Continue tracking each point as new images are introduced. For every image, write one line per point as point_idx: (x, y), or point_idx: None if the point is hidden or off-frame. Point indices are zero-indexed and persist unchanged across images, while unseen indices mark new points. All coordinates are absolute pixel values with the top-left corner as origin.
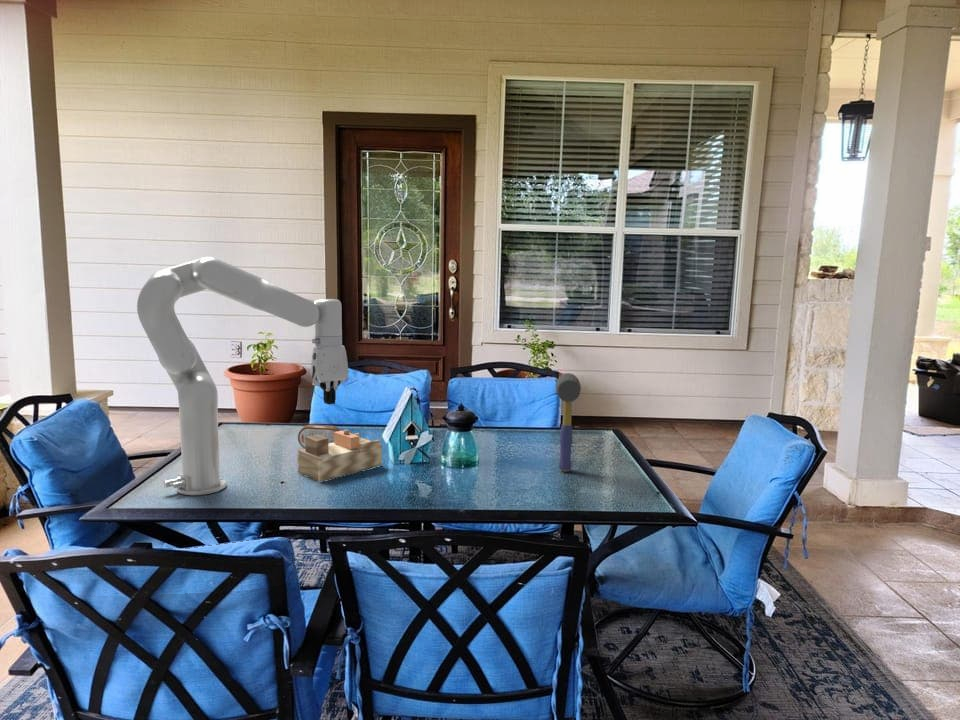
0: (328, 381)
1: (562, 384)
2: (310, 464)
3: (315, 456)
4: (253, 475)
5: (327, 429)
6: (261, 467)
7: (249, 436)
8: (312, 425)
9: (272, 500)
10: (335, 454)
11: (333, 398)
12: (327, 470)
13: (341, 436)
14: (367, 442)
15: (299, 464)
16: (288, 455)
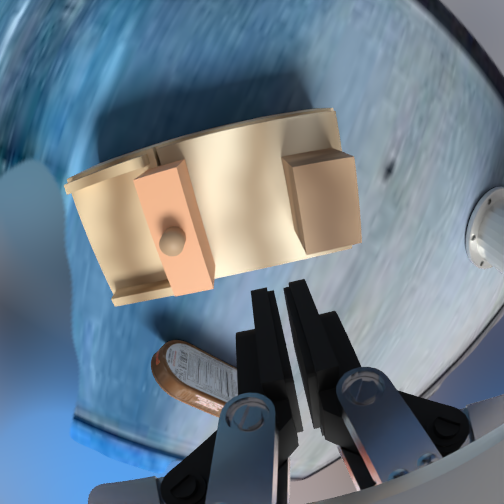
0: (453, 454)
1: None
2: None
3: (336, 145)
4: (412, 253)
5: (191, 387)
6: (376, 298)
7: (299, 444)
8: None
9: (441, 71)
10: (262, 130)
11: (272, 319)
12: (294, 112)
13: (198, 235)
14: (110, 171)
15: None
16: (290, 351)
